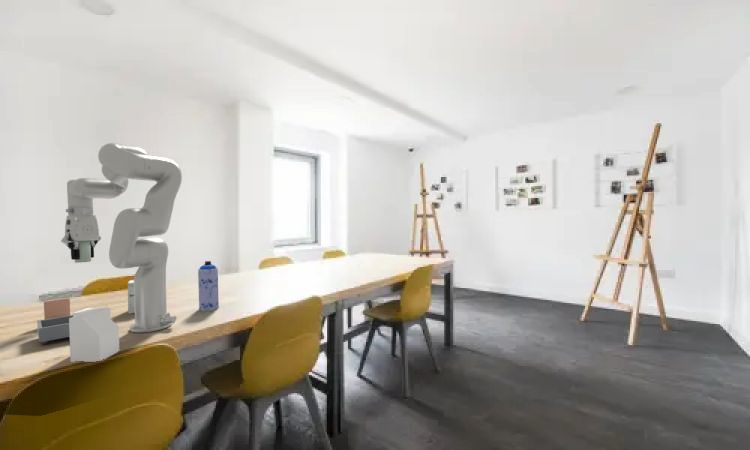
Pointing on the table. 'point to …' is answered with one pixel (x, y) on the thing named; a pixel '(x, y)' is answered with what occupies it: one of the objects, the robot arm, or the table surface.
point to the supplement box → (131, 297)
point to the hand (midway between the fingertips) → (82, 258)
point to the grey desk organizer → (54, 320)
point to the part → (84, 251)
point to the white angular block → (93, 335)
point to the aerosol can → (208, 287)
